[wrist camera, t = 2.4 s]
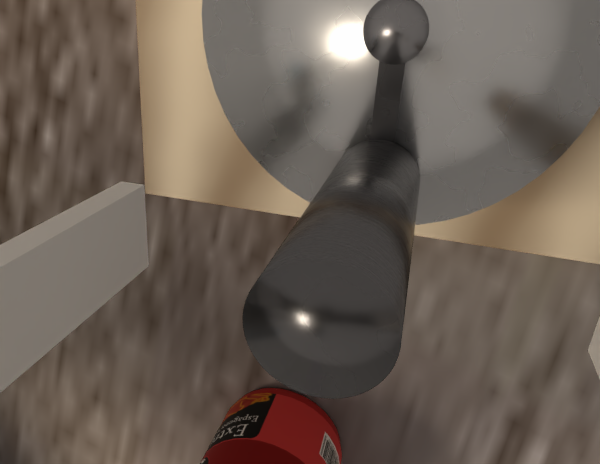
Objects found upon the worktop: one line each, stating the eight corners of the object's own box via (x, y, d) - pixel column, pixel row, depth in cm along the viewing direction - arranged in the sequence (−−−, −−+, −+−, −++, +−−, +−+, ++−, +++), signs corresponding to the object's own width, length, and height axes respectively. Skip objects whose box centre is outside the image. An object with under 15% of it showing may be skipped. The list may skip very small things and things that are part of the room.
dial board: (163, 182, 29) (142, 195, 27) (148, -224, 22) (119, -248, 20) (632, 252, 25) (649, 274, 23) (803, -231, 18) (851, -264, 16)
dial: (216, -216, 20) (-134, -574, 8) (689, -220, 17) (1337, -828, 5) (214, 187, 26) (20, 337, 14) (557, 238, 23) (684, 487, 11)
